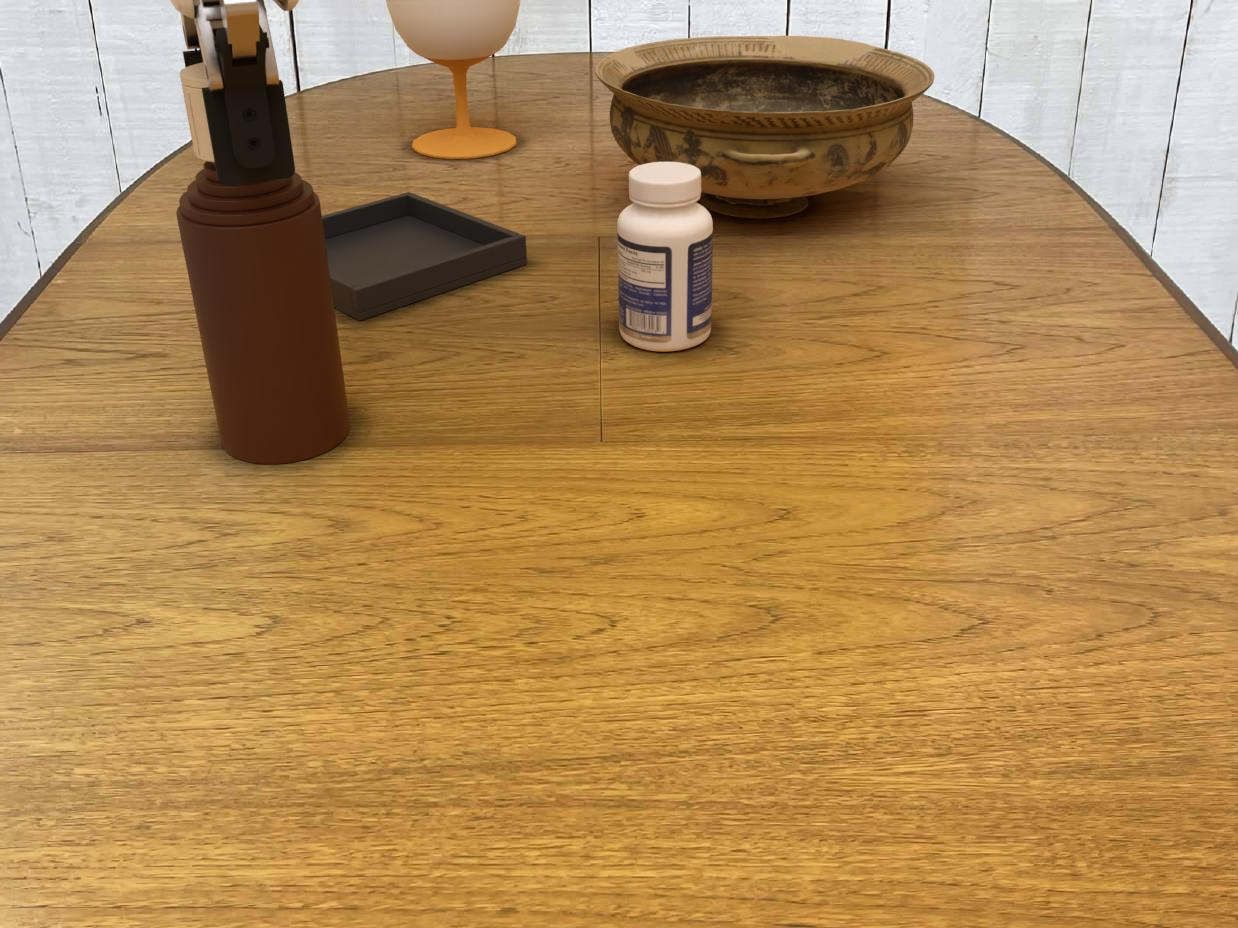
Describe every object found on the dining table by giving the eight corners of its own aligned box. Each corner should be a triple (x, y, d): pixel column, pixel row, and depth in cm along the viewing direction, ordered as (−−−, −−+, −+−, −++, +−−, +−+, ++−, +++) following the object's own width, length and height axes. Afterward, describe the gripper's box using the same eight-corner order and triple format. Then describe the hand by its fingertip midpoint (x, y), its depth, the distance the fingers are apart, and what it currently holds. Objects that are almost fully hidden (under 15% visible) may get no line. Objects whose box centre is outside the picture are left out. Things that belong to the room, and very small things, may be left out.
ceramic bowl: (946, 280, 80) (967, 124, 75) (575, 272, 82) (571, 120, 77) (896, 146, 106) (909, 23, 101) (615, 142, 108) (613, 22, 103)
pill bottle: (691, 311, 77) (694, 152, 72) (724, 346, 72) (730, 180, 67) (606, 323, 75) (603, 162, 70) (635, 359, 71) (634, 191, 66)
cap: (223, 169, 54) (208, 84, 52) (176, 152, 56) (161, 70, 55) (300, 149, 57) (289, 67, 55) (253, 133, 59) (240, 54, 57)
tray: (249, 264, 84) (244, 236, 83) (411, 217, 92) (408, 191, 91) (360, 321, 76) (356, 290, 75) (527, 264, 84) (526, 235, 83)
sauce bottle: (198, 432, 64) (126, 83, 55) (307, 392, 68) (256, 59, 59) (262, 478, 60) (195, 109, 51) (374, 433, 64) (330, 82, 55)
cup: (542, 127, 113) (534, -79, 104) (519, 165, 103) (508, -58, 94) (414, 124, 114) (396, -79, 105) (379, 162, 104) (356, -59, 95)
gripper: (310, -316, 42) (370, 202, 51) (238, -302, 56) (295, 103, 65) (70, -316, 39) (177, 228, 48) (57, -302, 53) (143, 119, 62)
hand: (244, 153), depth 57 cm, fingers open, 6 cm apart
